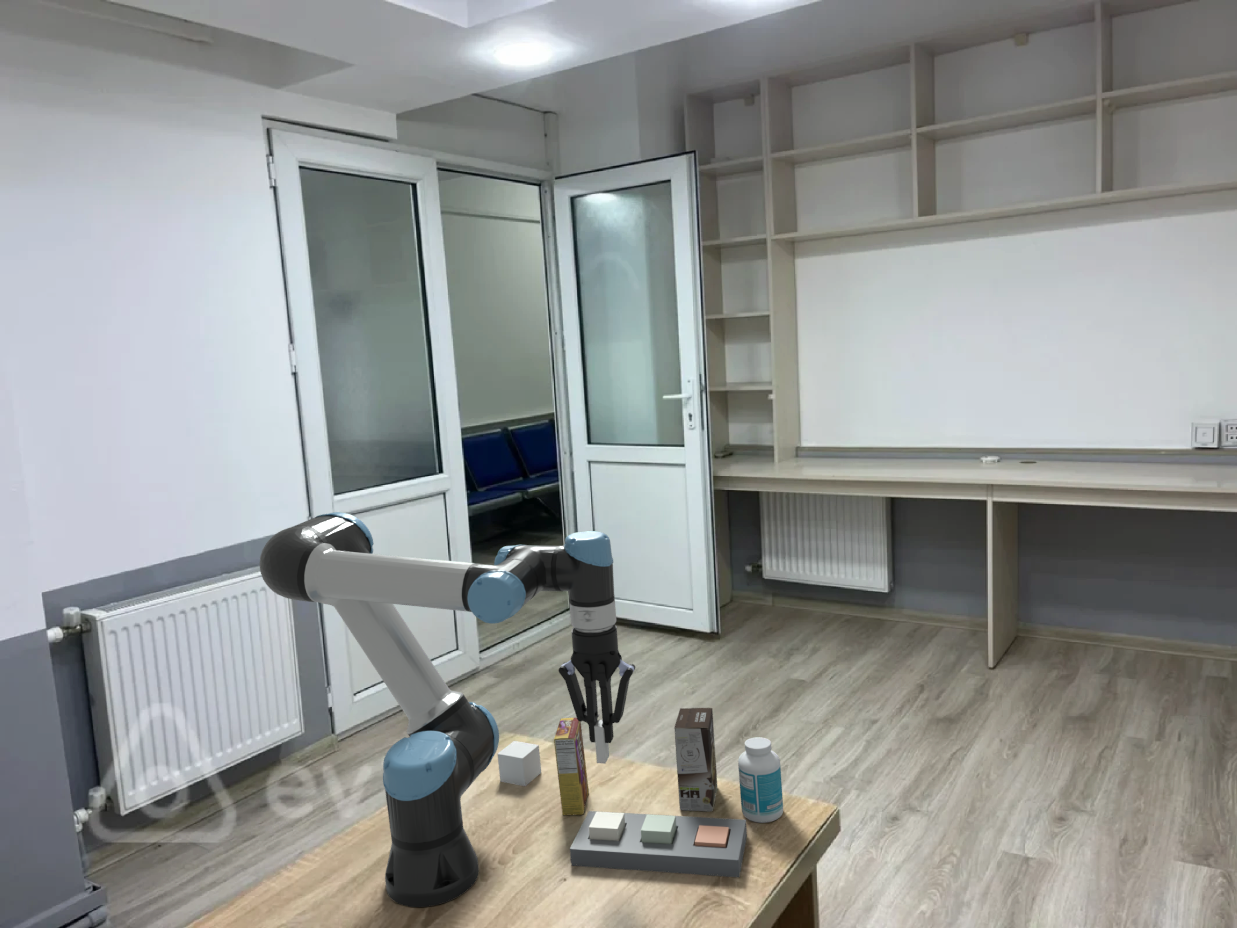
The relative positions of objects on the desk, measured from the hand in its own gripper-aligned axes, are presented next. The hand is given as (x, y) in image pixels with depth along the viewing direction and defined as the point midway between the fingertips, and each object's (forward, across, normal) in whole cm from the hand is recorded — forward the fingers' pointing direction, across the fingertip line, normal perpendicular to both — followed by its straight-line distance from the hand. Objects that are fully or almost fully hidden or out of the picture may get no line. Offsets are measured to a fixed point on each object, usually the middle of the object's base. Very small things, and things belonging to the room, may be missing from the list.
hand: (603, 759), depth 155 cm
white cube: (+17, -24, +22) cm, 37 cm away
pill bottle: (+16, +25, +13) cm, 33 cm away
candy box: (+16, -10, +14) cm, 23 cm away
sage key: (+14, +9, 0) cm, 17 cm away
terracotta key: (+16, +18, 0) cm, 24 cm away
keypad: (+16, +9, 0) cm, 18 cm away
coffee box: (+16, +13, +18) cm, 27 cm away
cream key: (+14, 0, 0) cm, 14 cm away
